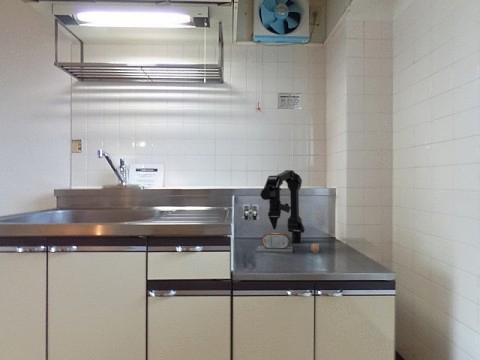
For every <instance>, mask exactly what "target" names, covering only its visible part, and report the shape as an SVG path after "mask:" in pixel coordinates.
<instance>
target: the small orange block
mask: <svg viewBox="0 0 480 360" xmlns="http://www.w3.org/2000/svg"><path fill="white" fill-rule="evenodd" d="M310 252H311V253H319V252H320V244H319V243H313V242H312V243H310Z"/></svg>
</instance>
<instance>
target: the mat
mask: <svg viewBox="0 0 480 360" xmlns="http://www.w3.org/2000/svg"><path fill="white" fill-rule="evenodd" d="M255 253H271V254H274V253H275V254H293V253H294V247H293V246H288V247H287V248H285V249H269V248H266V247H264V246H263V245H258V246H257V247H256V250H255Z"/></svg>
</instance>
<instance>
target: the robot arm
mask: <svg viewBox="0 0 480 360" xmlns="http://www.w3.org/2000/svg"><path fill="white" fill-rule="evenodd" d="M283 182H285V183H286V185H287V188H288V190H289V191H290V193H289V194H290V196H289V198H290V205H289V203H286V202H285V203H282V201H281V191H282V188H281V186H282V185H283ZM302 183H303V179H302V177H301V176H300V175H299V174H298V173H296V172H295V171H294V170H292V169H289V170H288V169H287V170H284V171H283V172H280V173H278V174H275V175H268V176H267V179H266V181H265V184H264V186H263V189H262V190H261V191H260V197H261V199H262V200H265V201H268V200H269V201H268V203H269V206H268V207H269V208H268V209H269V210H268V212H267V217H268V219H269V222H270V223H271V226H272V229H273V230H276V229H277V225H278V219H280V218H281V214H282V211H284V212H286V213H288V214H289V213H290V216H289V218H287V232H288V233H291V239H290V243H291V244H303V241H302V234H304V233H305V225H303V221H302V218H301V217H300V212H299V210H300V208H299V207H300V206H299V204H300V201H299V198H300V197H299V196H300V195H299V191H300V189H301V187H302Z"/></svg>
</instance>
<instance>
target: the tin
mask: <svg viewBox="0 0 480 360" xmlns="http://www.w3.org/2000/svg"><path fill="white" fill-rule="evenodd" d="M290 243H291V239H290V236H289V235H288V234H287V233H284V232H266V233H264V234H263V235H262V237H261V244H262V246H264V247H266V248H269V249H285V248H287V247H290Z"/></svg>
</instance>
